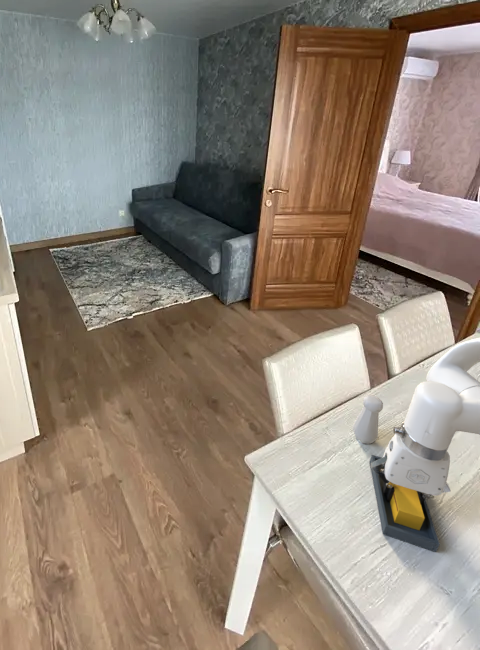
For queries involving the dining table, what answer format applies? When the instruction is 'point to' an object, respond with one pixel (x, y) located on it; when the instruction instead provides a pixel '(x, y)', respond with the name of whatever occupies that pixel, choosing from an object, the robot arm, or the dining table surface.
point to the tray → (389, 528)
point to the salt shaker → (368, 420)
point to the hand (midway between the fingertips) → (400, 498)
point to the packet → (406, 507)
